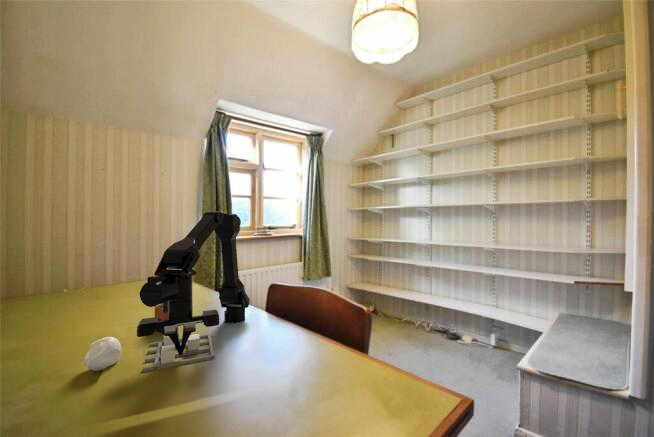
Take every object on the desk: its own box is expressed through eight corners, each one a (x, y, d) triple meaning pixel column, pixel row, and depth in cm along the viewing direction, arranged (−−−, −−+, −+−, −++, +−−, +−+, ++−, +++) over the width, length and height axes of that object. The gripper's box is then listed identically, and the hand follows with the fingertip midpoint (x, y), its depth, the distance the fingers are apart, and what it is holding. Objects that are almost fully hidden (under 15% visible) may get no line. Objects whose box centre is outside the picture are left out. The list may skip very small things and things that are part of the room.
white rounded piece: (84, 366, 77) (84, 336, 77) (120, 358, 81) (120, 330, 81) (83, 380, 70) (83, 348, 70) (122, 370, 75) (122, 339, 75)
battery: (164, 338, 94) (164, 307, 94) (154, 333, 98) (153, 303, 98) (178, 334, 97) (177, 303, 97) (167, 329, 101) (167, 300, 101)
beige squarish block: (199, 345, 86) (199, 333, 86) (199, 351, 83) (199, 338, 83) (187, 347, 85) (187, 335, 85) (187, 353, 81) (187, 340, 81)
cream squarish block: (176, 342, 88) (176, 331, 88) (175, 347, 85) (175, 335, 85) (164, 344, 87) (164, 332, 87) (163, 349, 83) (163, 337, 83)
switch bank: (210, 339, 93) (210, 333, 93) (214, 363, 79) (214, 355, 79) (143, 350, 85) (143, 343, 85) (134, 378, 71) (134, 370, 71)
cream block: (175, 357, 79) (174, 344, 79) (174, 363, 76) (174, 350, 76) (162, 359, 78) (162, 346, 78) (160, 366, 74) (160, 352, 74)
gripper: (215, 285, 89) (215, 337, 89) (142, 292, 81) (143, 349, 81) (219, 294, 79) (219, 352, 79) (136, 303, 71) (136, 368, 71)
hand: (180, 354), depth 78 cm, fingers closed
